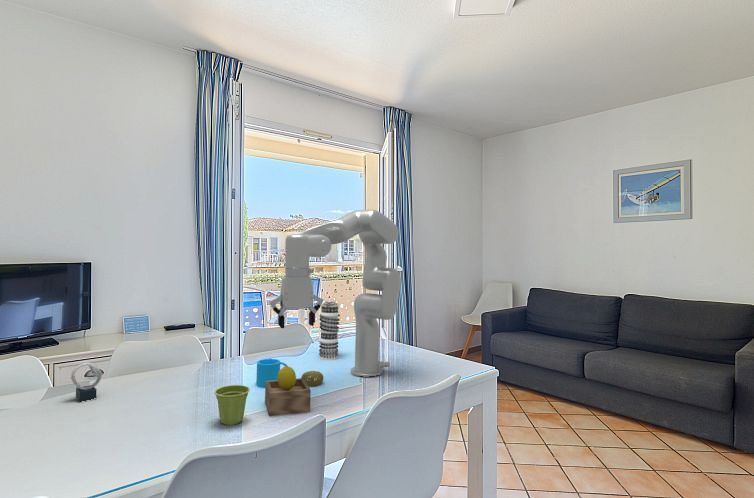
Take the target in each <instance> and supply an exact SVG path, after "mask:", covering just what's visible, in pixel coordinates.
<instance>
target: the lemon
mask: <svg viewBox="0 0 754 498" xmlns="http://www.w3.org/2000/svg"><path fill="white" fill-rule="evenodd" d="M296 379H297V376H296V371H295V370H294V369H293V368H292V367H291V366H288V365H287V366H283V367H282V368H280V371H279V373H278V384H279V386H280V388H281V389H283V390H285V391H289V390H290V389H291V388H293V387H294V385H295V382H296Z"/></svg>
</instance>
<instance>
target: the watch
mask: <svg viewBox="0 0 754 498" xmlns="http://www.w3.org/2000/svg"><path fill="white" fill-rule="evenodd" d="M85 366H88V367H89V369H90V370H91V372H92V373H93V374H94V375H95V377H96V378H97V379H96V380H95V382H94V383H92V384H90V385H86V386H85V385H84V386H81V384H80V383H79V382H77V379H76V376H75V374H76V372H77V371H78V370H79V369H81V368H83V367H85ZM102 376H103V373H102V371H101V370H100V369H99V367H98V366H97V365H96V364H95V363H94V362H92V363H91V362H83V363H80V364H78V365H76V366H75V367H74V369H73V370H72V371H71V377H70V379H71V382H72V383H73V384H74V385H75V387H76V388H75V399H76V398H77V399H78V400H79V401H78V400H77V399H76V400H77V401H78V402H79V403H83V402H82V401H85V402H87V401H86V400H90V401H92V400H91V399H94V398H96V399H97V390H98V389H97V388H96V386H97V385H99V383H100V381H101V379H102Z"/></svg>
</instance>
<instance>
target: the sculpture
mask: <svg viewBox="0 0 754 498" xmlns="http://www.w3.org/2000/svg"><path fill="white" fill-rule="evenodd" d="M301 378H304V380H305V382H306V383H307V385H308V386H309V387H314V386H318V385H321V384H322V383H323V381H324V375H323V373H322V372H320V371H316V370H310V371H309V370H308V371H305V372H303V374H302V375H301Z"/></svg>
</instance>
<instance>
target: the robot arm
mask: <svg viewBox="0 0 754 498" xmlns="http://www.w3.org/2000/svg"><path fill="white" fill-rule="evenodd" d="M357 235H358V237H359V239H360V241H361V243H362V244H363V245H362V246H363V247H364V250H365V262H364V268H363V274H362V278H361V279H362V280H361V281H362V282H361V283H362V286H363V288H364V289H366V290H369V291H376V292H382V294H378V293H371V292H369V293H368V292H364V293H360V294H358V295H357V296H356V297H355V298H354V301H353V311H354V316H355V317H354V318H355V344H354V345H355V347H354V367H352V368H351V369H350V373H351V374H352V375H353V376H356V377H360V376H363V377H362V378H370V377H369V376H375V377H377V376H376V375H379V374H381V373H382V374H383V368H388V367H390V365H391V363H390V361H385V362H384V360H382V361H381V360H380V331H381V330H380V325H379V323H378V320H384V321H389V320H391V319H393V318H394V317H395V315H396V313H397V309H398V305H399V304H398V303H399V297H400V290H401V281H402V280H401V279H402V278H401V274H400V272H399V271H398V270H397V268H395V267H394V268H392V267H387V260H388V256H387V255H388V254H387V252H386V249H385V248H384V246H383V245H390V244H394V243H395V242H397V240H398V238H399V228H398V226H397V225H396V223H394V221H392V220H391V219H390V218H389V217H387V216H386V215H385V214H383V213H382V212H380V211H379V210H376V209H359V210H358V209H357V210H353V211H350V212H349V213H346V214H345V215H343V216H341V217H339V218H337V219H335V220H332V221H329V222H326V223H323V224H320V225H317V226H313V227H310V228H307V229H306V230H303V231H301V232H300V233H297V234H289V235H286V237H285V241H284V242H285V253H284V255H285V259H284V260H285V261H284V263H285V264H284V266H285V269H284V270H285V271H284V272H285V273H284V274H285V275H284V276H285V277H282V279H281V285H280V294H279V296H277V297H275V298H274V299H272V300H270V301H269V305H270V307H271V308H272V310H273V311H274V312H275V313H276V314H277V317H278V318H277V323H278V326H279V328H281V329H284V328H285V315H284V314H285V313H286V311H287V310H300V309H301V310H302V309H308V310H309V312H308V325H309V326H311V327H314V325H315V323H316V314H317V312H318V311H319V310H320V308H321V307H322V306H321V305H323V303H324V299H323V298H321V297H319V296H317V295H315V294H314V288H313V281H312V277H311V274H314V269H311V268H310V257H311V258H323V257H326V256H327V255H329V253H330V252H331V251H332V245H337V244H342V243H345V242H347V241H349V240H350V239H352V238H354V237H355V236H357ZM382 244H383V245H382ZM314 300H315V301H317V302H316V304H314ZM277 303H279V305H280V306H279V307H280V308H278V307H277V305H276V304H277ZM377 319H378V320H377ZM382 374H381V375H382ZM379 376H380V375H379Z"/></svg>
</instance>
